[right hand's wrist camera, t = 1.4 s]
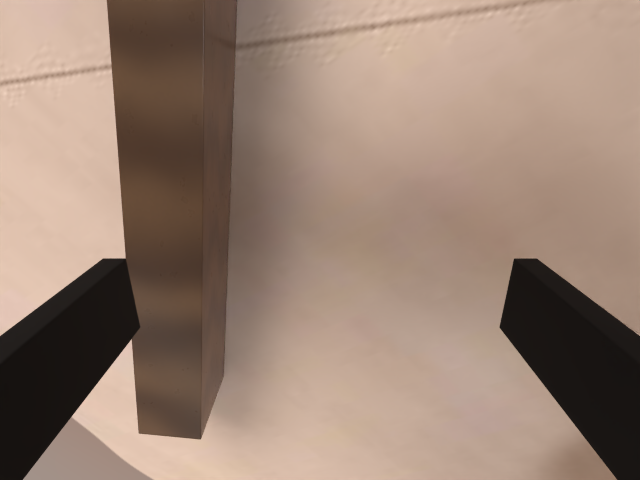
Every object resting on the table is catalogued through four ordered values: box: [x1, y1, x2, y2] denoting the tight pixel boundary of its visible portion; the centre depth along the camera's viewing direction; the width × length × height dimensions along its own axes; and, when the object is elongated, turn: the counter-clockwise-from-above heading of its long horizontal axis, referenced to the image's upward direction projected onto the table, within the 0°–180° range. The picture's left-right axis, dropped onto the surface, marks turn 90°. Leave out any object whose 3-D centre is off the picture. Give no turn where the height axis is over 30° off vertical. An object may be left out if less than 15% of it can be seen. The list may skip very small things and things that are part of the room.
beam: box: [107, 0, 237, 439], centre depth 28 cm, size 51×6×8 cm, turn 173°
